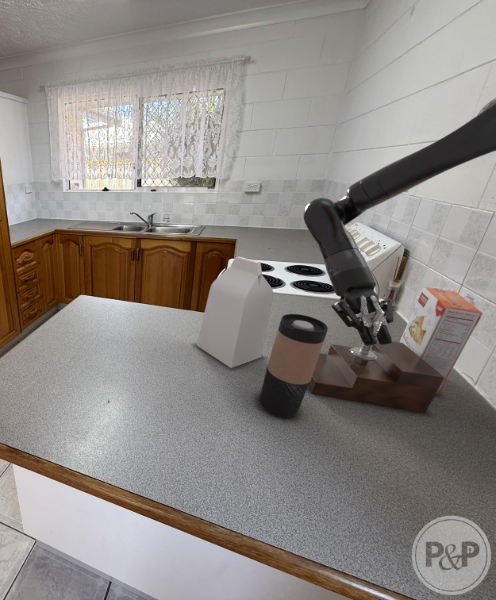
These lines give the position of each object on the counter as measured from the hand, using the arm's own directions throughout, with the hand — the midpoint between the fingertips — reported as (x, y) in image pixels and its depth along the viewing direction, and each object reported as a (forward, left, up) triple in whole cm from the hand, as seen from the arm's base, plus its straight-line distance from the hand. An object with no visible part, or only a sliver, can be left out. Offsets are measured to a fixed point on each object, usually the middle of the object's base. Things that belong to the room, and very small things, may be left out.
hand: (378, 343), depth 67 cm
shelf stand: (+1, -2, -12) cm, 12 cm away
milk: (+28, -8, -12) cm, 31 cm away
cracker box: (-15, -10, -12) cm, 22 cm away
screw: (+1, -2, -6) cm, 7 cm away
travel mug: (+20, +12, -12) cm, 26 cm away
